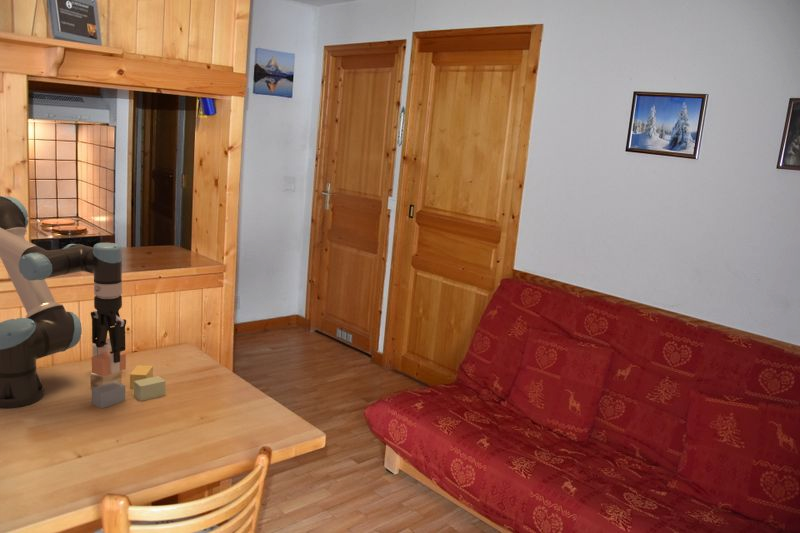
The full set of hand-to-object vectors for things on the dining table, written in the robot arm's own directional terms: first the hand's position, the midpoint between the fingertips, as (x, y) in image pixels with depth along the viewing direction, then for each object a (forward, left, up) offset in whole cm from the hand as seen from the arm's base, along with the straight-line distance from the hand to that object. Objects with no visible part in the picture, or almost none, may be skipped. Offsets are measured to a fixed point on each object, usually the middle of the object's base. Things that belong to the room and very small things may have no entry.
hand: (108, 369), depth 198 cm
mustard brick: (-4, +15, -11) cm, 19 cm away
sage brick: (+5, +11, -11) cm, 16 cm away
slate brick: (0, 0, -11) cm, 11 cm away
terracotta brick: (0, 0, 0) cm, 0 cm away
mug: (-20, +14, -11) cm, 27 cm away
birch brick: (-11, +7, -11) cm, 17 cm away
